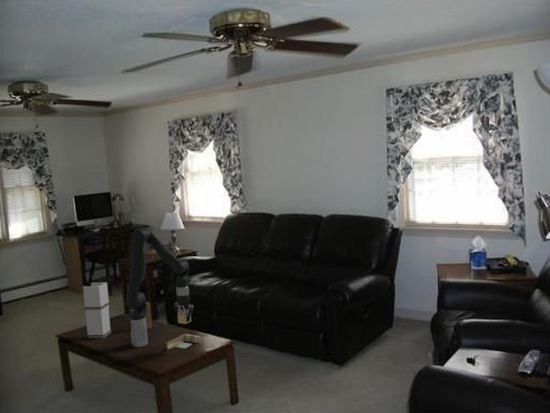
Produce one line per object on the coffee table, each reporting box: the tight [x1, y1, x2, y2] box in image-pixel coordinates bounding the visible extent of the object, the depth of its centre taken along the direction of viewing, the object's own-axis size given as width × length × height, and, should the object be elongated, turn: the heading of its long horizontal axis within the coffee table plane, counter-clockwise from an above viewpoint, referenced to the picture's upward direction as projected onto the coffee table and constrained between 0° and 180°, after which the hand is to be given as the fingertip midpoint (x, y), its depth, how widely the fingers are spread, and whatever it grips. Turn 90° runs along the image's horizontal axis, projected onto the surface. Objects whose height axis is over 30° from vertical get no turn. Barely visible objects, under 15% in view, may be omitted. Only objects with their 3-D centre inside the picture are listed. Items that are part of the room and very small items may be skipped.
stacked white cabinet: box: [82, 282, 112, 339], centre depth 332 cm, size 11×11×35 cm
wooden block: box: [146, 301, 153, 330], centre depth 340 cm, size 9×4×18 cm, turn 131°
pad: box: [174, 341, 193, 349], centre depth 303 cm, size 8×8×1 cm
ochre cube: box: [177, 311, 192, 325], centre depth 298 cm, size 6×6×6 cm
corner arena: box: [165, 333, 202, 350], centre depth 303 cm, size 13×17×4 cm
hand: (184, 320), depth 299 cm, fingers closed on ochre cube, 5 cm apart
